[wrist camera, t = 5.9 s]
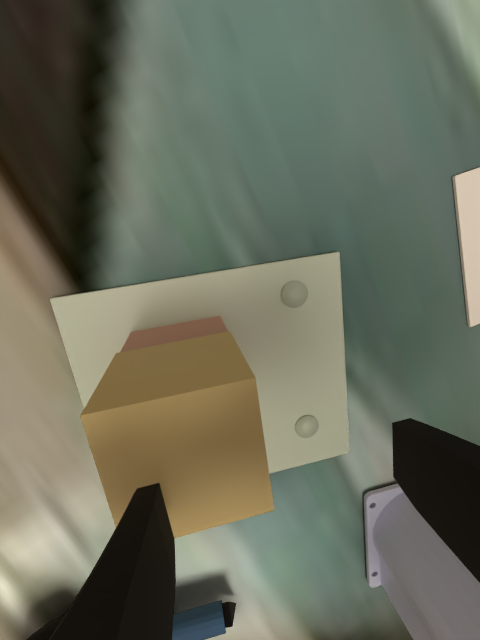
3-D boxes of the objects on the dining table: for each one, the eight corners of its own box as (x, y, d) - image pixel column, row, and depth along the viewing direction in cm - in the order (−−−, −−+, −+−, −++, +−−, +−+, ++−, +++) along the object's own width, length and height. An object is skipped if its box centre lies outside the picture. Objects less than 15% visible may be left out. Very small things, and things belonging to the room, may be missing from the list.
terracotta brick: (232, 393, 19) (245, 431, 16) (150, 411, 19) (142, 455, 15) (220, 315, 18) (230, 336, 14) (130, 332, 17) (116, 358, 13)
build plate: (347, 449, 22) (351, 454, 22) (117, 507, 20) (116, 515, 20) (336, 251, 19) (341, 252, 18) (52, 297, 16) (48, 299, 16)
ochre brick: (245, 426, 15) (274, 510, 11) (142, 451, 15) (123, 552, 10) (230, 330, 14) (255, 377, 9) (115, 353, 13) (79, 415, 9)
